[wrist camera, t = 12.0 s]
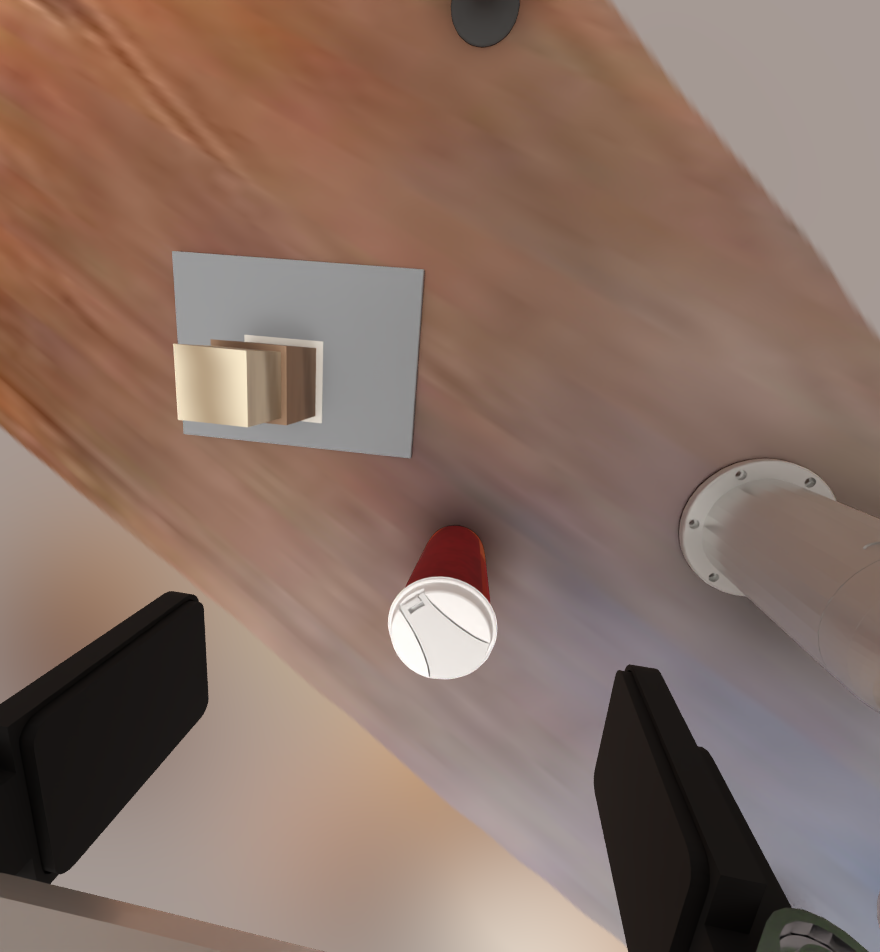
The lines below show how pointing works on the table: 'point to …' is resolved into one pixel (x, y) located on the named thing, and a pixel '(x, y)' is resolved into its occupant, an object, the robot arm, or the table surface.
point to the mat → (315, 341)
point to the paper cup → (445, 608)
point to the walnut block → (289, 378)
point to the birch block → (227, 385)
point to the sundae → (484, 20)
